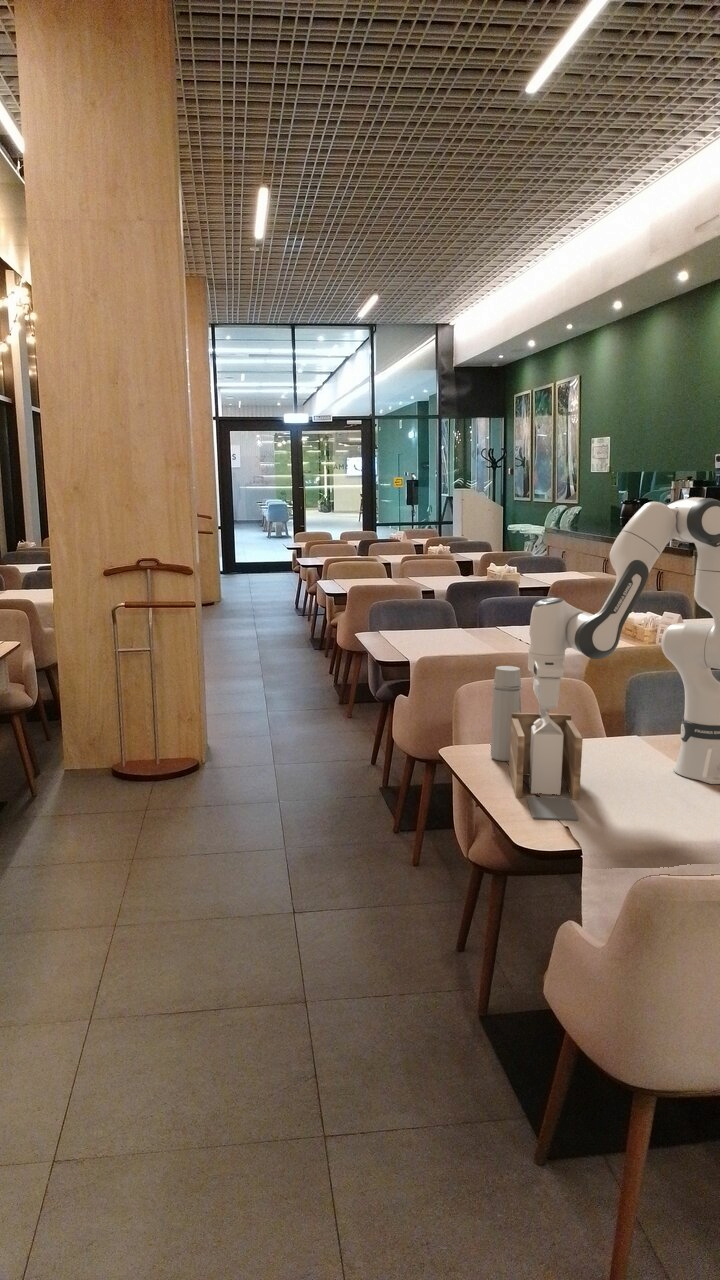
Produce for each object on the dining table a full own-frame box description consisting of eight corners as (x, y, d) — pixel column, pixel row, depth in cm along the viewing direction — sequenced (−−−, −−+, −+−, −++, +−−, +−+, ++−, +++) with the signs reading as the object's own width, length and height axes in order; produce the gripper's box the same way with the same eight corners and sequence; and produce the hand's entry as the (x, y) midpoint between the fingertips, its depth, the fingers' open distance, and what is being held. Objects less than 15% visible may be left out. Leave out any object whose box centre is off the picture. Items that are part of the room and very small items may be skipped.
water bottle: (501, 763, 254) (505, 671, 250) (484, 756, 261) (487, 666, 257) (529, 759, 258) (533, 669, 254) (511, 752, 265) (515, 663, 261)
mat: (568, 799, 227) (569, 798, 227) (578, 820, 213) (578, 818, 213) (526, 798, 227) (526, 796, 227) (532, 818, 213) (532, 817, 213)
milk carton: (557, 786, 236) (561, 711, 233) (560, 795, 229) (564, 718, 226) (528, 785, 237) (531, 710, 234) (530, 794, 230) (534, 717, 227)
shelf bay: (567, 774, 246) (570, 714, 243) (579, 799, 227) (582, 734, 224) (508, 772, 247) (511, 712, 244) (515, 797, 228) (518, 732, 225)
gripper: (528, 655, 246) (526, 707, 249) (537, 671, 226) (535, 728, 228) (553, 656, 246) (551, 708, 248) (564, 672, 226) (561, 728, 228)
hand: (543, 718), depth 238 cm, fingers closed
